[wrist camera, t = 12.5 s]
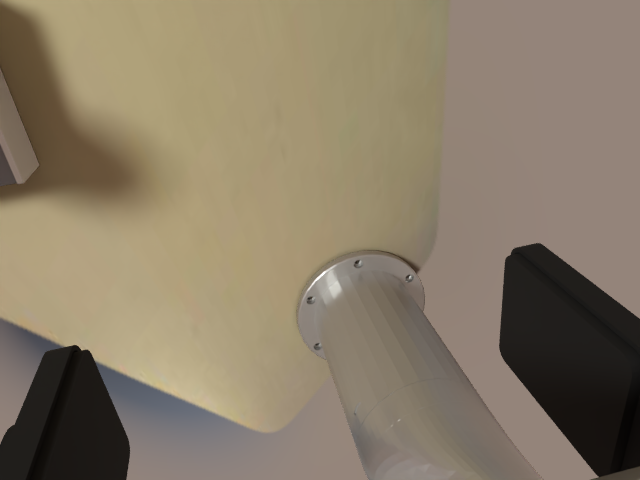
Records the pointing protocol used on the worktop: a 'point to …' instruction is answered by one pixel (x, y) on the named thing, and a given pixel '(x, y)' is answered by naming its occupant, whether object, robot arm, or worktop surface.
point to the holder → (13, 142)
